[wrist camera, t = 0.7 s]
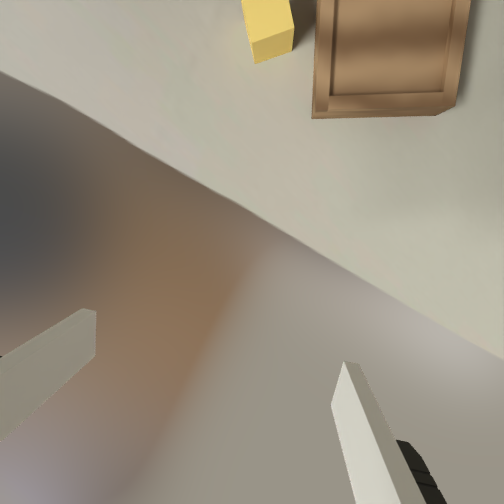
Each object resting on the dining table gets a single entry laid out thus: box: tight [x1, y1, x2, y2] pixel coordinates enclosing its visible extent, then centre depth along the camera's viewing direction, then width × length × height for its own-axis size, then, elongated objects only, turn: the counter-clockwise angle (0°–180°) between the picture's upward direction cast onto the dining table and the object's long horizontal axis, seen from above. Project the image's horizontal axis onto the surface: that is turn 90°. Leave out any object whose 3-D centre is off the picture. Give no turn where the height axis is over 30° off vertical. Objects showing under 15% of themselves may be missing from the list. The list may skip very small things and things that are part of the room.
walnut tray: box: [312, 0, 471, 119], centre depth 31 cm, size 16×16×4 cm
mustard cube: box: [241, 0, 294, 64], centre depth 31 cm, size 5×5×5 cm
